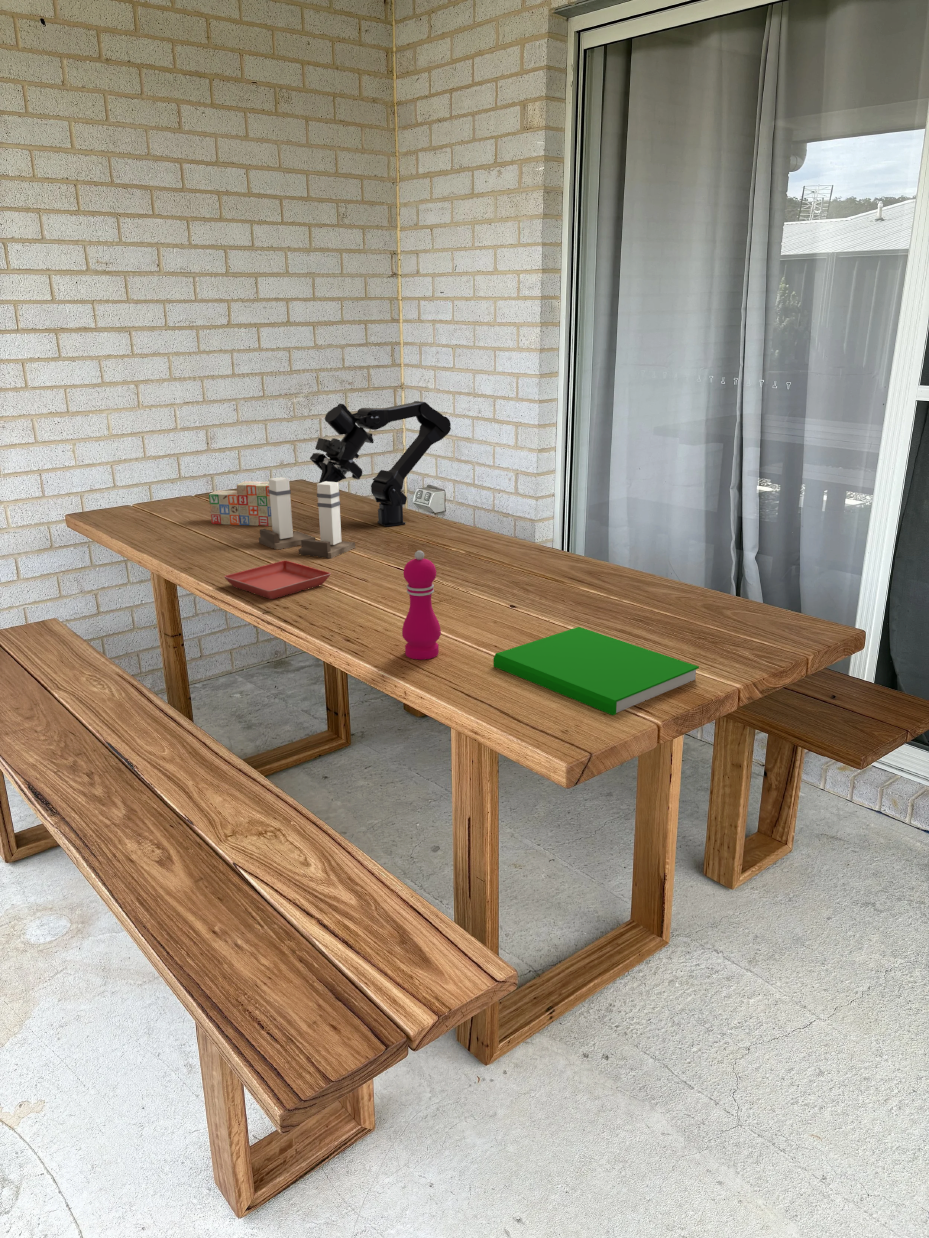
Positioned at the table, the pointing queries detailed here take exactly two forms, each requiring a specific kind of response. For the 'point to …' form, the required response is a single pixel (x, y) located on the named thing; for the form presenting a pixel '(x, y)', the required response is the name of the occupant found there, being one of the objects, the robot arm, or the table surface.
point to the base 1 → (274, 542)
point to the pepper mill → (420, 610)
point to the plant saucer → (278, 579)
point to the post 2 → (329, 512)
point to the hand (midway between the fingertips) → (319, 489)
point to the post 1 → (281, 507)
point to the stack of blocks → (242, 505)
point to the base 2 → (324, 548)
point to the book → (595, 669)
